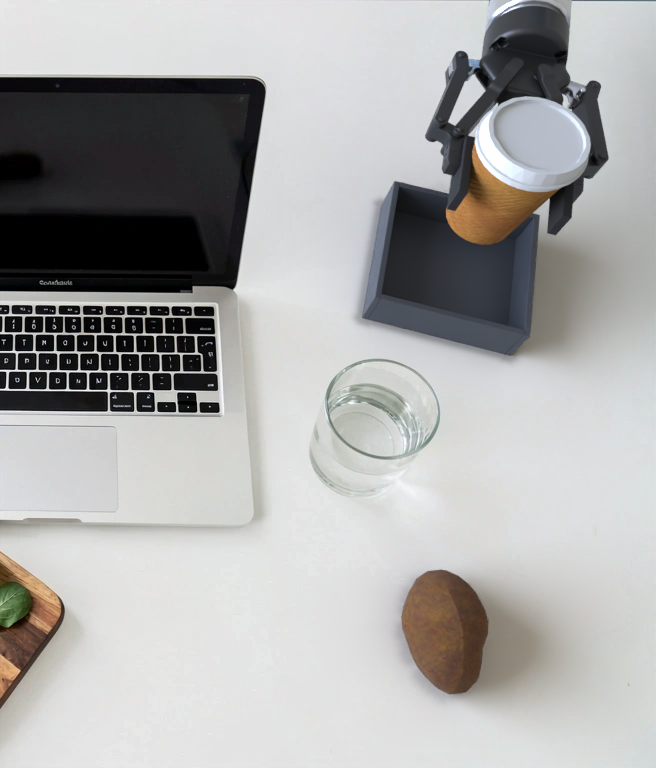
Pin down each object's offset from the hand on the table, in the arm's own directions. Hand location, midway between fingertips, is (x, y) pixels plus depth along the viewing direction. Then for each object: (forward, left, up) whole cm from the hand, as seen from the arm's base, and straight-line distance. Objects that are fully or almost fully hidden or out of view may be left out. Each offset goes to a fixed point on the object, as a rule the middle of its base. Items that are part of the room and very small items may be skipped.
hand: (508, 213), depth 80 cm
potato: (-3, +34, -17) cm, 38 cm away
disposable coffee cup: (0, -5, -7) cm, 9 cm away
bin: (0, -4, -17) cm, 17 cm away
